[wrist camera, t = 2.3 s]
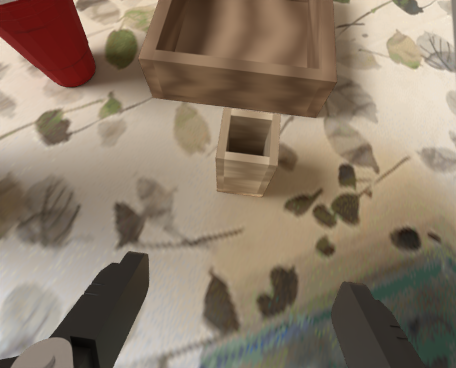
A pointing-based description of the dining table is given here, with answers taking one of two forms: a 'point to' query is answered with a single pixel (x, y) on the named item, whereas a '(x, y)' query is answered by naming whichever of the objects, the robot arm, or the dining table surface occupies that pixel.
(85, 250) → the dining table surface
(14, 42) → the plastic cup
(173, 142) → the dining table surface
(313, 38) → the crate
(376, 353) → the robot arm
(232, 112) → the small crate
